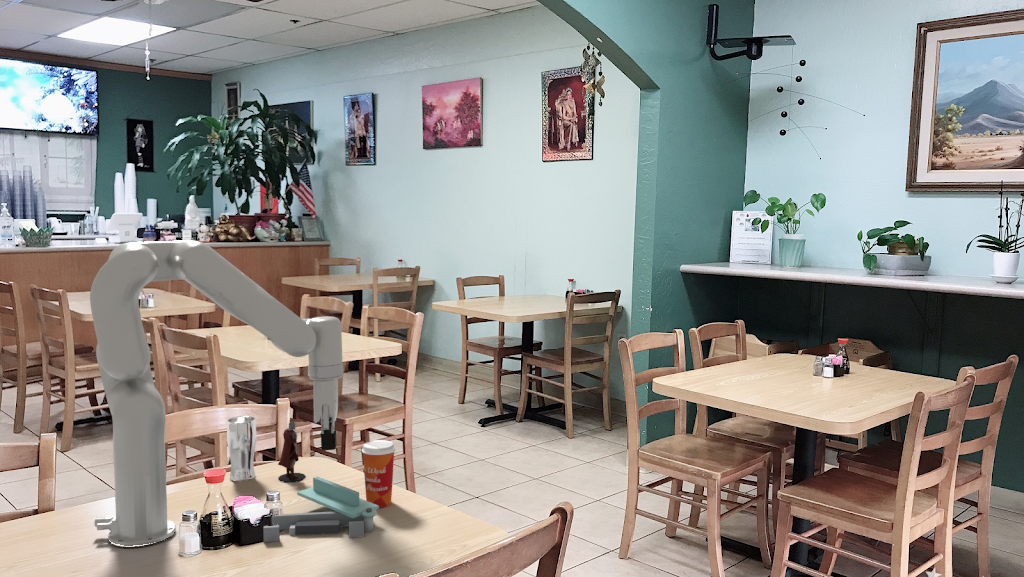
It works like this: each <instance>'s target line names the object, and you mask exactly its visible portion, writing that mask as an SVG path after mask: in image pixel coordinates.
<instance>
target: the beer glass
mask: <svg viewBox="0 0 1024 577" xmlns="http://www.w3.org/2000/svg"><path fill="white" fill-rule="evenodd" d="M226 422H227V426H226V443H227V450H228V453H229V454H228V455H229V459H230V473H229V480H230V479H231V481H232V480H235V481H234V482H236V481H242V482H247V480H248V481H251V480H254V479H255V477H256V471H255V468H254V458H255V453H256V452H255V451H256V443H257V425H256V417H254V416H249V415H239V416H234V417H229V418H227V421H226Z"/></svg>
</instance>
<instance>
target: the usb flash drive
mask: <svg viewBox="0 0 1024 577" xmlns="http://www.w3.org/2000/svg"><path fill="white" fill-rule="evenodd" d="M341 530H342V529H341V520H322V521H297V523H296V525H291V526H290V529H289V535H290V536H291V535H293V536H294V535H295V536H313V535H314V536H316V535H317V536H319V535H320V536H321V535H339V534H340V533H341Z"/></svg>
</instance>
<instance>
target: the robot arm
mask: <svg viewBox="0 0 1024 577" xmlns="http://www.w3.org/2000/svg"><path fill="white" fill-rule="evenodd" d="M175 280H184V281H185V282H187V283H188V284H189V285H191V286H192V287H193V288H194V289H196V290H197V291H199V292H200V293H201V294H202V295H204V296H205V297H206V298H208V299H209V300H210V301H212V302H214V303H215V304H216V305H217V306H218V307H220V309H222V310H224V311H225V312H226V313H228V314H229V315H231V316H232V317H234V318H235V319H237V320H239V321H241V322H243V323H245V324H247V325H248V326H250V327H251V328H253V329H255V330H256V331H258V332H259V333H260V334H262V335H263V336H264V337H266V338H267V339H268V340H270V342H271V343H272V344H273V346H274V347H276V349H278V350H280V351H281V352H283V353H284V354H285V353H286V354H287V355H288V356H292V357H295V358H302V357H306V356H308V376H309V377H308V378H309V379H310V380H311V381H313V392H312V393H313V423H314V424H318V423H319V422H320V427H321V431H320V446H321V448H320V449H321V451H333V450H336V447H337V438H336V430H335V429H336V428H335V422H336V421H337V416H338V410H339V379H342V378H343V376H344V366H343V365H344V364H343V340H342V339H343V338H342V337H343V336H342V335H343V334H342V322H341V320H340V318H338V317H336V316H327V315H326V316H315V317H312V318H301V317H300V316H298V315H297V314H296V313H294V312H293V311H292V310H291V309H290V308H288V307H287V306H285V305H284V303H281V301H279V300H277V299H276V298H275V297H274V296H273V295H271V294H270V293H269V292H267V291H266V290H265V289H264V288H263V287H262V286H260V285H259V284H258V283H256V282H255V281H254V280H253V279H251V278H250V277H249V276H248V275H247V274H245V273H244V272H242V271H241V270H240V269H239V268H237V267H236V266H235V265H234V264H233V263H231V262H230V261H228V260H227V259H226V258H225V257H224V256H222V255H221V254H220V253H219V252H217V251H216V250H215V249H213V248H212V247H211V246H209V245H208V244H206V243H205V242H202V241H197V240H193V239H192V240H191V239H185V240H172V241H171V240H169V241H144V242H143V241H136V242H133V241H132V242H125V243H122V244H121V243H120V244H119V245H117V246H116V247H115V248H113V250H112V251H111V252H110V254H109V256H108V259H107V261H106V262H105V263H104V264H103V265H102V266H101V267H100V269H99V270H98V271H97V274H96V275H95V277H94V278H93V282H92V284H91V287H90V292H89V293H90V294H89V303H90V311H91V315H92V316H91V317H92V321H93V327H94V331H95V332H94V333H95V337H96V340H97V343H96V347H95V348H96V349H95V356H96V360H97V365H98V370H99V374H100V377H101V378H100V379H101V382H102V386H103V389H104V393H105V397H106V401H107V406H108V407H109V411H110V414H111V419H112V449H113V450H112V457H113V470H114V471H113V472H114V473H113V474H114V477H113V478H114V498H115V500H114V501H115V514H113V515H111V516H109V517H108V516H100V517H99V516H98V517H97V516H96V517H95V519H94V527H95V528H96V530H97V531H105V530H109V533H108V535H107V539H109V540H110V541H111V542H113V543H115V544H120V545H124V546H133V545H143V544H149V543H150V544H151V543H154V542H159V541H161V540H164V539H166V538H168V537H170V536H171V537H172V536H174V534H175V533H176V531H177V530H176V528H177V527H176V524H175V523H174V522H173V520H169V519H168V505H167V504H168V500H167V499H168V498H167V470H166V468H167V467H166V445H165V444H166V441H165V440H166V439H165V438H166V437H165V436H166V421H167V420H166V419H167V418H166V417H167V416H166V415H167V414H166V404H165V400H164V399H163V397H162V395H161V393H160V392H159V391H158V389H157V388H156V386H155V383H154V382H155V381H154V378H153V373H152V370H151V366H150V365H151V364H150V363H151V358H152V357H151V356H152V354H151V348H150V346H149V344H148V340H147V337H146V332H145V328H144V325H143V320H142V314H141V310H140V304H139V303H140V300H139V299H140V294H141V293H142V290H143V288H144V287H145V286H147V285H148V284H149V283H151V282H164V281H165V282H166V281H175ZM175 530H176V531H175ZM174 532H175V533H174ZM171 537H170V538H171ZM168 539H169V538H168ZM166 540H167V539H166ZM164 541H165V540H164ZM159 543H160V542H159Z"/></svg>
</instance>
